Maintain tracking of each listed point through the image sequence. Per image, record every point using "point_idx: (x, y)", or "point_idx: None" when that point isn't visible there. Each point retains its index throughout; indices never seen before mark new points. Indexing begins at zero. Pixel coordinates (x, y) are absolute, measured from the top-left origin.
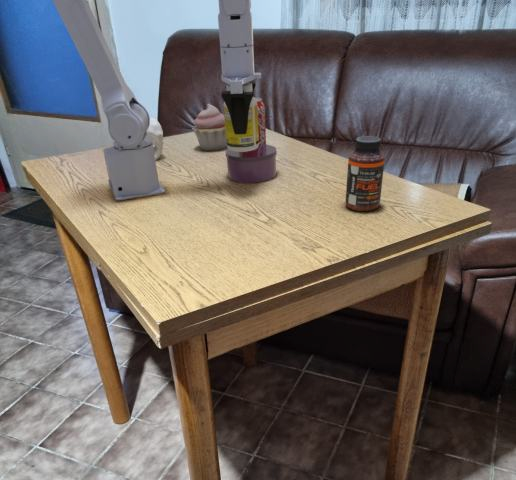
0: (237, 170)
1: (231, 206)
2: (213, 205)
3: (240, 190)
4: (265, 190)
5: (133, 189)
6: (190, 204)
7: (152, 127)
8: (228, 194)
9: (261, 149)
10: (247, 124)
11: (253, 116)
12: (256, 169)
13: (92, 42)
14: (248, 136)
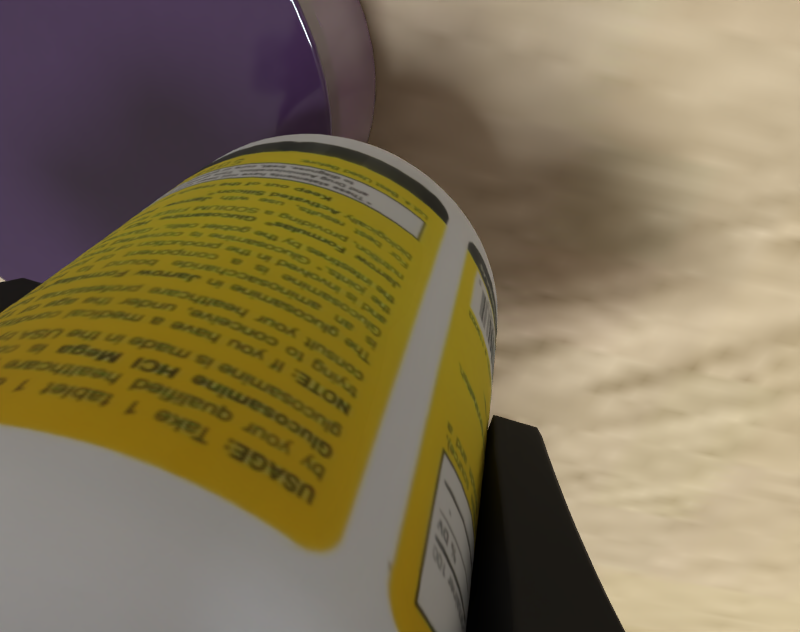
0: None
1: (786, 349)
2: (705, 429)
3: (506, 230)
4: (584, 55)
5: None
6: (623, 515)
7: None
8: (552, 316)
9: (68, 4)
10: (559, 500)
11: (403, 435)
12: (350, 98)
13: None
14: (488, 359)
